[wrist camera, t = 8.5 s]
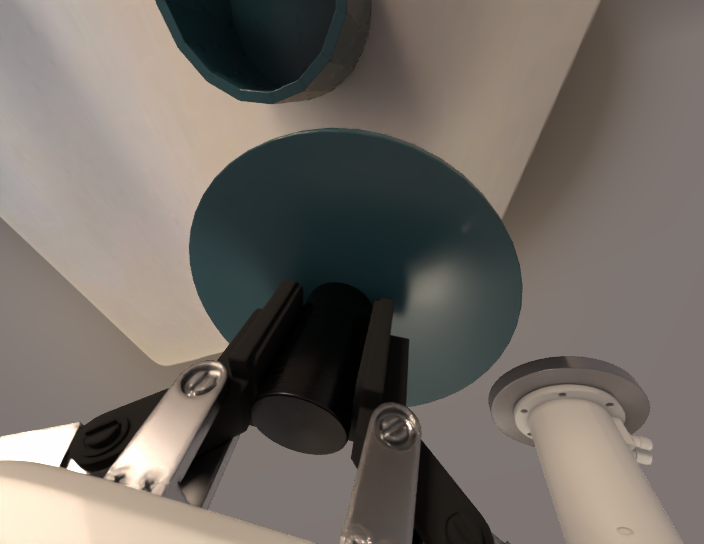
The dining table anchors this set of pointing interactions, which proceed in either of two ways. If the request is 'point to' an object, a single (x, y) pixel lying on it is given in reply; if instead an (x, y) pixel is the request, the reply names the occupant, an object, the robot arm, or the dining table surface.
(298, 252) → the lid
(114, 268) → the dining table surface
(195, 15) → the pot
